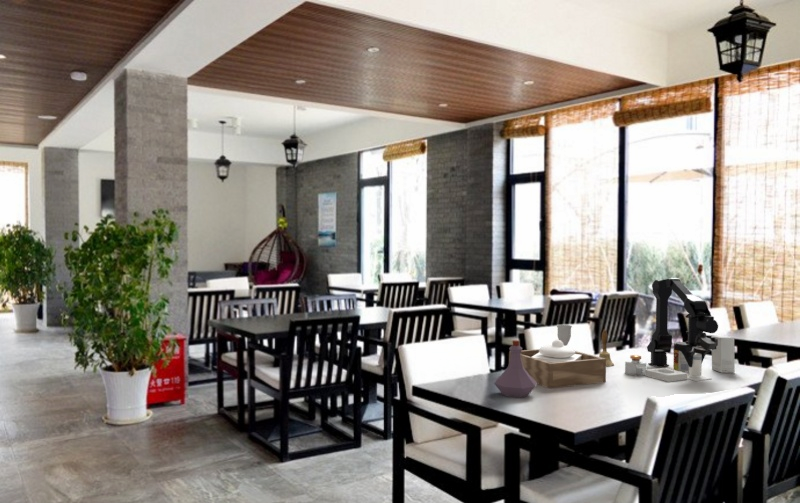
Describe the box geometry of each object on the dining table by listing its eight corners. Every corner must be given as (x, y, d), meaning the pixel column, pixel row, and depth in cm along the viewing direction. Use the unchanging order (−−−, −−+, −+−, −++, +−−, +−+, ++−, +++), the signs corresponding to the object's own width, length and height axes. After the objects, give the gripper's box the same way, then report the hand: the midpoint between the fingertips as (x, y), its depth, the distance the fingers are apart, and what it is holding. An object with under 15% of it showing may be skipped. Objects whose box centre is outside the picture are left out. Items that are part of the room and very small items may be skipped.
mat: (678, 376, 260) (678, 375, 260) (693, 374, 264) (693, 374, 264) (696, 381, 252) (696, 380, 252) (711, 379, 255) (711, 378, 255)
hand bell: (595, 365, 282) (595, 331, 282) (595, 362, 290) (595, 328, 290) (614, 366, 280) (615, 332, 279) (613, 363, 288) (614, 329, 287)
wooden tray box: (508, 373, 263) (509, 351, 263) (561, 368, 275) (561, 347, 274) (549, 388, 238) (549, 363, 238) (605, 381, 249) (606, 358, 249)
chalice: (552, 363, 286) (553, 325, 285) (564, 362, 289) (564, 324, 288) (563, 366, 279) (563, 327, 279) (574, 365, 282) (575, 326, 282)
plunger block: (625, 373, 266) (625, 361, 266) (635, 371, 269) (635, 360, 269) (635, 375, 261) (635, 364, 261) (646, 374, 263) (646, 363, 263)
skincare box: (734, 373, 268) (735, 337, 268) (719, 373, 268) (720, 337, 268) (725, 369, 276) (725, 334, 276) (710, 369, 276) (710, 334, 276)
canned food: (688, 368, 277) (689, 342, 277) (695, 372, 269) (696, 345, 269) (670, 368, 278) (671, 341, 278) (676, 371, 270) (677, 344, 270)
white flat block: (645, 375, 262) (645, 369, 262) (664, 373, 266) (664, 367, 266) (667, 381, 251) (667, 375, 251) (687, 379, 255) (687, 373, 255)
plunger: (627, 371, 266) (628, 355, 266) (635, 370, 268) (635, 354, 267) (635, 373, 262) (635, 357, 262) (643, 372, 264) (643, 356, 263)
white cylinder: (685, 374, 259) (686, 353, 259) (694, 373, 261) (694, 352, 261) (695, 376, 254) (696, 355, 254) (704, 375, 256) (704, 354, 256)
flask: (506, 387, 239) (507, 336, 239) (545, 393, 229) (546, 340, 228) (484, 395, 227) (485, 341, 226) (524, 402, 216) (525, 346, 216)
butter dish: (529, 379, 252) (529, 340, 252) (540, 370, 268) (541, 334, 268) (572, 384, 244) (573, 344, 244) (581, 375, 260) (582, 338, 260)
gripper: (695, 333, 246) (695, 372, 246) (728, 331, 254) (727, 368, 254) (673, 329, 256) (672, 367, 257) (705, 327, 264) (704, 363, 264)
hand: (695, 366), depth 258 cm, fingers closed on white cylinder, 5 cm apart
